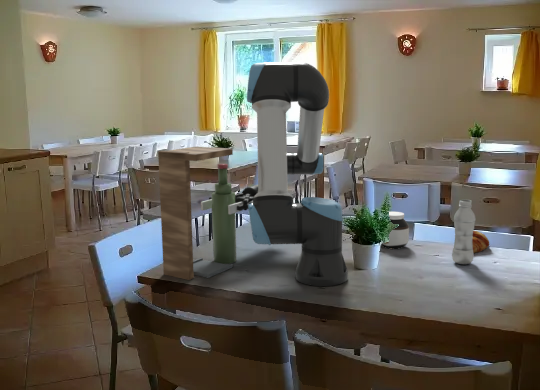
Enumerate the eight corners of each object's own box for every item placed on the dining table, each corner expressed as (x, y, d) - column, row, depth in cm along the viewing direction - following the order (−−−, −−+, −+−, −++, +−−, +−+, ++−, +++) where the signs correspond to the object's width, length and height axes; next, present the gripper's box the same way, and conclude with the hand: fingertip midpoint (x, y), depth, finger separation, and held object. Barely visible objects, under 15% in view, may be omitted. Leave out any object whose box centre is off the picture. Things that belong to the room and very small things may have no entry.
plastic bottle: (474, 261, 187) (477, 199, 183) (471, 267, 181) (475, 203, 177) (453, 259, 189) (456, 198, 186) (450, 265, 183) (453, 201, 180)
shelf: (200, 260, 191) (196, 145, 184) (235, 267, 184) (232, 148, 177) (163, 274, 177) (158, 151, 170) (199, 282, 170) (195, 153, 163)
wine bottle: (240, 261, 189) (238, 164, 183) (218, 265, 186) (216, 166, 180) (231, 256, 196) (228, 162, 190) (210, 259, 192) (207, 163, 187)
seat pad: (200, 260, 191) (200, 257, 190) (232, 267, 184) (232, 264, 183) (175, 270, 181) (174, 267, 180) (208, 277, 174) (208, 274, 173)
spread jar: (411, 247, 204) (413, 214, 202) (390, 253, 197) (391, 219, 195) (384, 240, 213) (385, 208, 211) (363, 246, 206) (364, 213, 204)
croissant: (474, 250, 212) (465, 229, 213) (501, 241, 206) (491, 219, 207) (453, 263, 196) (443, 240, 197) (481, 253, 190) (471, 230, 191)
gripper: (284, 210, 197) (245, 224, 179) (229, 204, 209) (187, 215, 191) (283, 188, 195) (244, 199, 177) (228, 183, 208) (187, 192, 189)
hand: (215, 208), depth 184 cm, fingers open, 10 cm apart
